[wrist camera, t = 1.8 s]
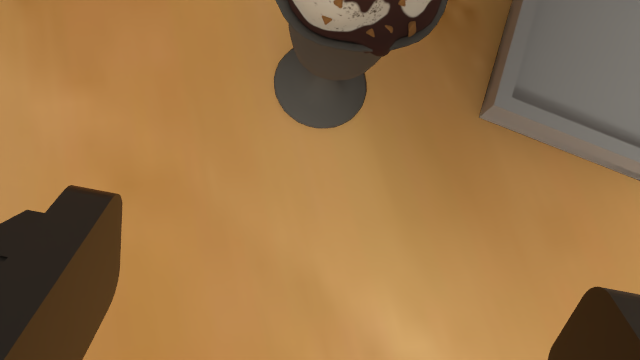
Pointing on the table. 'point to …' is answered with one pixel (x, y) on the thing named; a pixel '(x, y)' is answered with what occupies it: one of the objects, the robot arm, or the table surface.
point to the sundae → (342, 52)
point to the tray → (571, 78)
